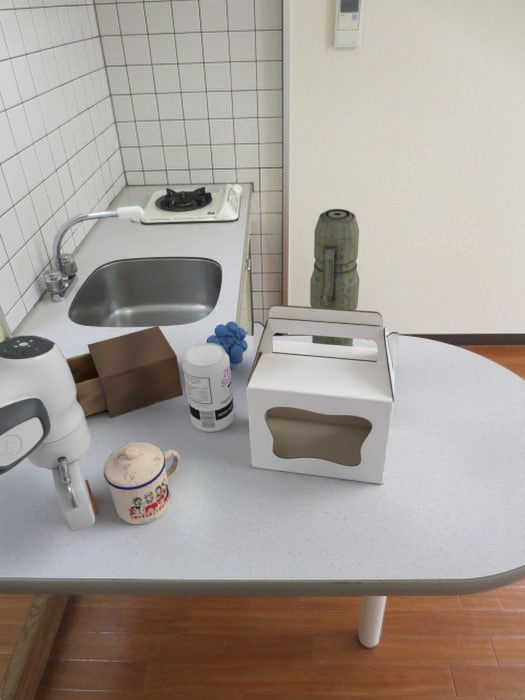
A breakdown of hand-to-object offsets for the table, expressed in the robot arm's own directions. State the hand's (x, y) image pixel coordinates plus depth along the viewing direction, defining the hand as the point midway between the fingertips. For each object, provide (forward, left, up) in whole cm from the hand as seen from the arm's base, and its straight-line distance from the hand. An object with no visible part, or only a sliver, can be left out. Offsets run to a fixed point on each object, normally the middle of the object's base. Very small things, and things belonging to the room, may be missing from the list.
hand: (79, 502), depth 82 cm
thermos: (+52, +10, -2) cm, 53 cm away
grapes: (+35, +22, -2) cm, 41 cm away
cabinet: (+16, +26, -2) cm, 31 cm away
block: (0, 0, -2) cm, 2 cm away
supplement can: (+26, +10, -2) cm, 28 cm away
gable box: (+40, -6, -2) cm, 41 cm away
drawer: (+6, +26, -1) cm, 27 cm away
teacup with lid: (+11, -3, -2) cm, 11 cm away
